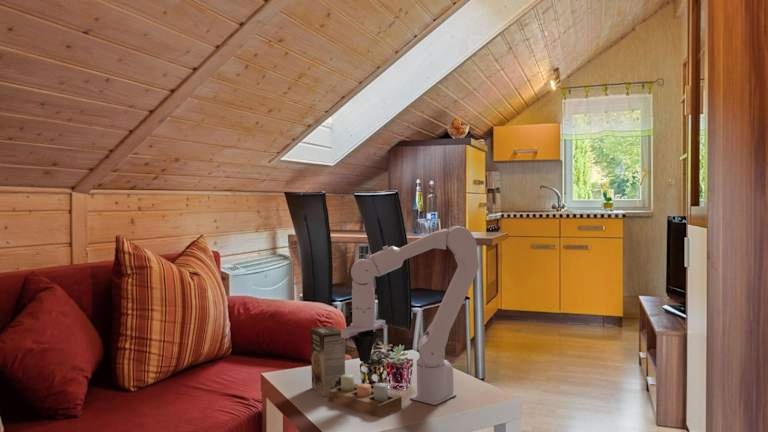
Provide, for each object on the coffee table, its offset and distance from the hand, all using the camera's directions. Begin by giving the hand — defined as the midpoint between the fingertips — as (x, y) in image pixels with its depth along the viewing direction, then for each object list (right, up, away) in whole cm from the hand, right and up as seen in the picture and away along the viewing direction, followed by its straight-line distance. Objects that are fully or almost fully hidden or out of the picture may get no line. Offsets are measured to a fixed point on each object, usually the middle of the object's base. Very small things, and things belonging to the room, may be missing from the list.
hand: (364, 361), depth 147 cm
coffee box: (-10, -10, +8) cm, 16 cm away
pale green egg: (-4, -8, 0) cm, 9 cm away
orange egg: (0, -9, -4) cm, 10 cm away
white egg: (+4, -8, -7) cm, 12 cm away
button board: (0, -10, -4) cm, 10 cm away
